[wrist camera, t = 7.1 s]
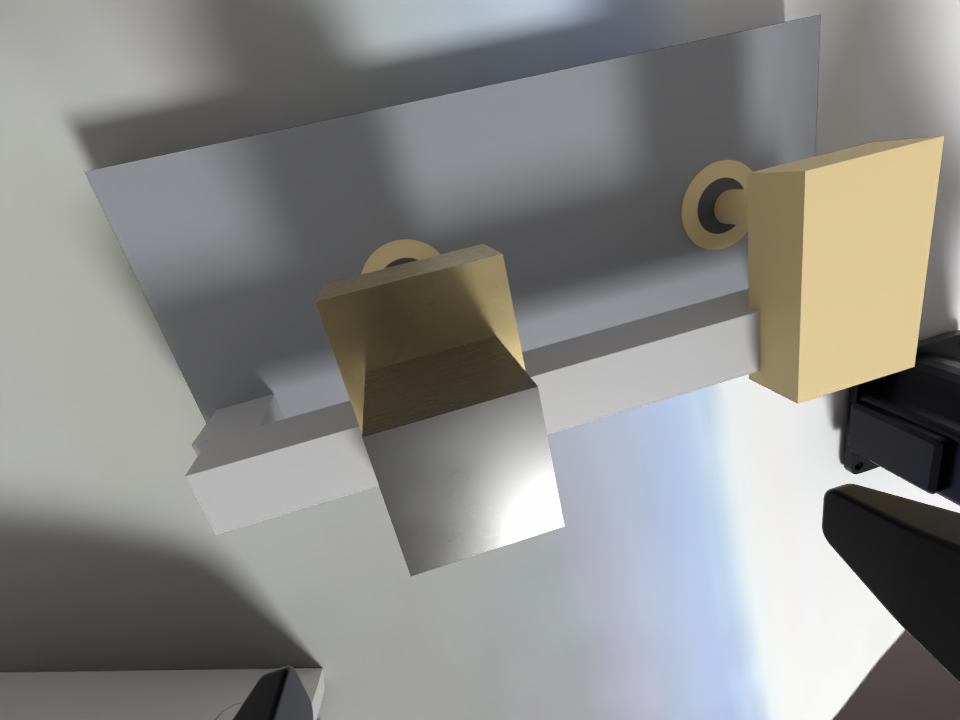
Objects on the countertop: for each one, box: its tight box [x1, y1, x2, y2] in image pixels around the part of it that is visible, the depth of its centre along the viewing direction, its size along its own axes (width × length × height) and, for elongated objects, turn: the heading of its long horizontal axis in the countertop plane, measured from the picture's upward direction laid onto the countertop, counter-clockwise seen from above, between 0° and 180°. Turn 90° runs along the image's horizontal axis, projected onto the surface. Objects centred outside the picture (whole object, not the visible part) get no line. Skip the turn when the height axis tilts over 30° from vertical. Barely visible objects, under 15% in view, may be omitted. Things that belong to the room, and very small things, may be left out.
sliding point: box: [316, 244, 564, 576], centre depth 13 cm, size 4×6×9 cm, turn 12°
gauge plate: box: [85, 15, 944, 535], centre depth 15 cm, size 24×12×8 cm, turn 102°
